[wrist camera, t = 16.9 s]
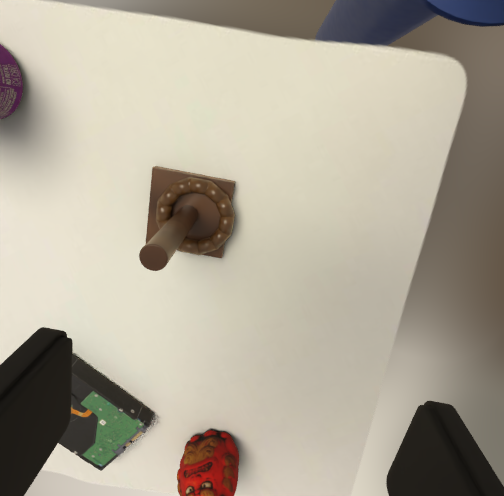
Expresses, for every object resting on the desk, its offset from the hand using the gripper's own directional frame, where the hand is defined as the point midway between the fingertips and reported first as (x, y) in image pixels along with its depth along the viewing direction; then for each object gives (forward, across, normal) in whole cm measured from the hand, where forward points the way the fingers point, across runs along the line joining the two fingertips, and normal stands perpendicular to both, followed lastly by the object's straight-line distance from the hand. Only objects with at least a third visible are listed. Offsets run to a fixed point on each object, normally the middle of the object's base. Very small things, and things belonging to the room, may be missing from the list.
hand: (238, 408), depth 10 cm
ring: (+27, +6, +3) cm, 28 cm away
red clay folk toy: (+28, 0, +34) cm, 44 cm away
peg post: (+28, +7, +4) cm, 29 cm away
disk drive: (+28, +17, +31) cm, 45 cm away
